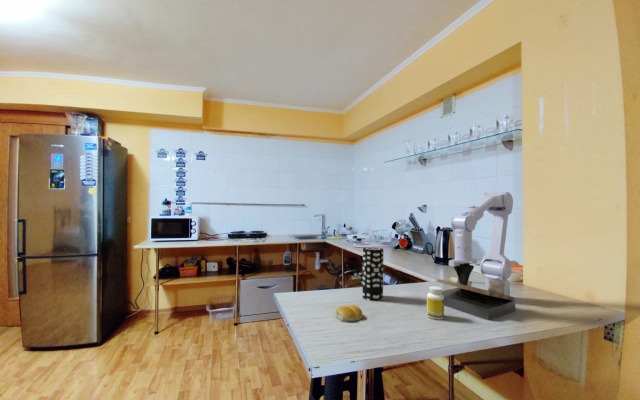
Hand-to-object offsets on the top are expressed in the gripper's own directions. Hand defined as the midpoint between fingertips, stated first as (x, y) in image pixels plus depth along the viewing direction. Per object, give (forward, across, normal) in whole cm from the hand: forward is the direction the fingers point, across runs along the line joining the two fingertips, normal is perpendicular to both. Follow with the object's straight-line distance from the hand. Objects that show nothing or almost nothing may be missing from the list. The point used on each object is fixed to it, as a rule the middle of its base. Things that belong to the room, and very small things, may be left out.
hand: (463, 284), depth 103 cm
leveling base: (+9, +6, 0) cm, 11 cm away
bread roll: (+9, -42, +14) cm, 45 cm away
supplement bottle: (+9, -16, 0) cm, 18 cm away
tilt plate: (+3, +7, 0) cm, 7 cm away
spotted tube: (+9, -21, +26) cm, 35 cm away
